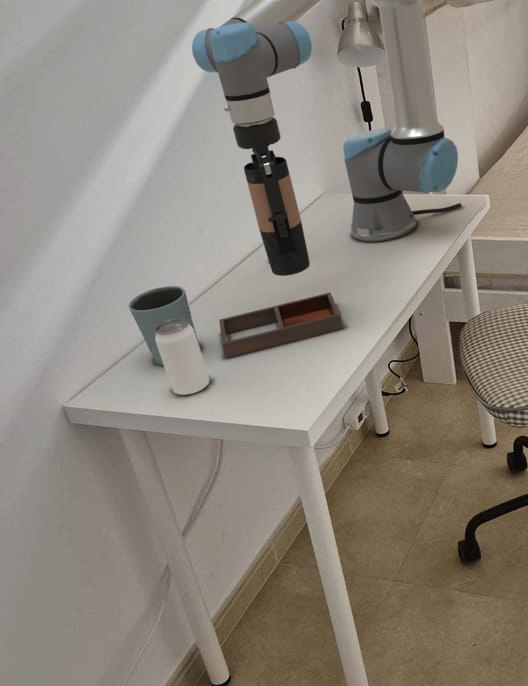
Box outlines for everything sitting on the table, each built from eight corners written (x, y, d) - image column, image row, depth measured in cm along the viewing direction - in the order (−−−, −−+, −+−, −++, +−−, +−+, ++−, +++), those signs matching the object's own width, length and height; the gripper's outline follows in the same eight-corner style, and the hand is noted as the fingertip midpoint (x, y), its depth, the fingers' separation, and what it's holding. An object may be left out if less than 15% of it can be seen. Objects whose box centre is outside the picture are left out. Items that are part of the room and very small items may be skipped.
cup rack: (223, 333, 170) (219, 319, 168) (333, 305, 174) (330, 292, 172) (226, 358, 160) (222, 344, 158) (343, 328, 164) (340, 314, 163)
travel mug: (302, 275, 158) (276, 168, 148) (264, 277, 160) (235, 171, 150) (317, 258, 164) (293, 155, 154) (280, 260, 166) (253, 158, 156)
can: (206, 393, 150) (186, 331, 144) (169, 398, 150) (147, 337, 144) (213, 374, 155) (194, 314, 149) (177, 379, 155) (157, 320, 149)
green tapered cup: (213, 350, 164) (194, 292, 158) (164, 374, 158) (144, 315, 152) (186, 336, 170) (168, 281, 164) (139, 359, 165) (118, 302, 159)
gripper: (228, 113, 156) (259, 232, 168) (236, 138, 139) (270, 269, 150) (269, 105, 158) (298, 223, 169) (282, 129, 140) (313, 259, 152)
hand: (285, 244), depth 160 cm, fingers closed on travel mug, 8 cm apart
